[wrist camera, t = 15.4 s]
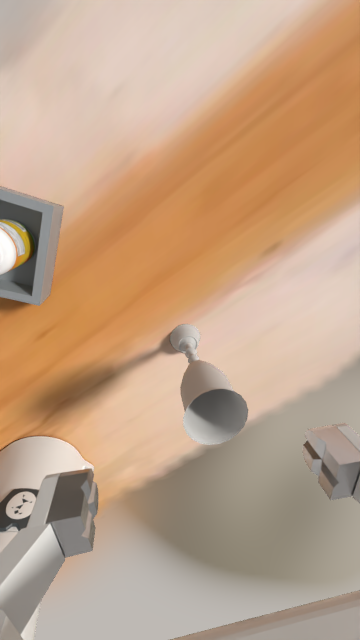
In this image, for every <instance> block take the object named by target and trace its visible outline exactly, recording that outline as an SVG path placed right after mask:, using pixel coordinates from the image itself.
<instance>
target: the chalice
mask: <svg viewBox="0 0 360 640" xmlns="http://www.w3.org/2000/svg"><path fill="white" fill-rule="evenodd" d="M199 341H200V332H199V330H198V329H197V328H196V327H195V326H193V325H190V324H182V325H180V326H178V327H176V328H175V329H174V330H173V331H172V333H171V336H170V342H171V345H172V346H173V348H174V349H176V350H178V351H180V352H181V353H185V355H186V357H187V358H189V359H188V362H189V363H190V364H189V366H188V368H187V369H186V371H185V373H184V376H183V379H182V384H181V397H182V401H183V406H184V410H185V414H184V417H183V425H184V429H185V431H186V433H187V435H188V436H189V437H190V438H191V439H192V440H194V441H196V442H198V443H201V444H208V445H212V444H220V443H222V442H225V441H228V440H230V439H231V438H233V437H234V436H235V435H237V434H238V433H239V432H240V430H241V429H242V428H243V427H244V425H245V422H246V420H247V416H248V408H247V404H246V402H245V400H244V399H243V398H242V396H241V395H239V394H237V393H236V392H234V390H233V388H232V386H231V384H230V382H229V380H228V379H227V377H226V375H225V374H224V373H223V371H221V370H220V369H218V368H217V367H215V366H214V365H212V364H210V363H207V362H204V361H201V360H199V357H198V356H197V355H196V354H197V351H196V348H197V347H198V344H199Z"/></svg>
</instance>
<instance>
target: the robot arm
mask: <svg viewBox="0 0 360 640" xmlns="http://www.w3.org/2000/svg"><path fill="white" fill-rule="evenodd" d="M305 437H306V439H307V441H306V443H305V444H304V445H303V456H304V460H305V462H306V464H307V466H308V467H309V469H310V470H311V471H312V472H313V473H315V474H316V475H318V482H319V484H320V486H321V487H322V488H323V490H324V491H325V493H326V494H327V496H328V497H329V499H330V500H334V499H339V498H345V497H351V496H353V498H354V499H355V500H357V501H358V502H359V503H360V436H359V435H358V434H357V433H356V432H355V431H354V430H353V429H352V428H351V427H350V426H349V425H348V424H346V423H340V424H335V425H327V426H322V427H317V428H312V429H308V430H307V431H306V433H305ZM93 472H94V466H93V465H92V464H90V463H89V462H87V461H85V460H84V459H83V458H82V457H81V455H80V454H79V452H78V451H77V450H76V449H75V448H74V447H73V446H72V445H70V444H69V443H67V442H65V441H63V440H60V439H57V438H53V437H45V436H34V437H27V438H23V439H20V440H17V441H15V442H13V443H11V444H10V445H8V446H7V447H6V448H5V449H3V450H2V451H0V640H34V636H35V630H36V624H37V619H38V614H39V610H40V605H41V601H42V598H43V596H44V595H45V593H46V591H47V590H48V588H49V586H50V584H51V583H52V581H53V579H54V578H55V576H56V574H57V572H58V571H59V569H60V567H61V566H62V564H63V562H64V561H65V558H66V557H70V556H73V555H77V554H82V553H86V552H90V551H92V550H93V542H94V535H95V525H94V521H93V519H94V517H95V516H96V514H97V510H98V488H97V484H96V483H95V482H93V477H94V474H93ZM170 640H360V590H359V591H354V592H351V593H347V594H343V595H339V596H335V597H332V598H328V599H324V600H320V601H316V602H312V603H309V604H305V605H301V606H297V607H293V608H289V609H285V610H282V611H278V612H274V613H270V614H266V615H262V616H259V617H255V618H251V619H247V620H243V621H239V622H235V623H232V624H228V625H224V626H220V627H216V628H212V629H209V630H205V631H201V632H197V633H193V634H189V635H186V636H182V637H178V638H174V639H170Z"/></svg>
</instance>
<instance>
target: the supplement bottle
mask: <svg viewBox="0 0 360 640" xmlns="http://www.w3.org/2000/svg"><path fill="white" fill-rule="evenodd" d="M35 249H36V244H35V239H34V237H33V235H32V233H31V232H30V231H29V229H28V228H27V227H25V226H24V225H23V224H21V223H19V222H17V221H14V220H9V219H3V220H0V275H1V274H4V273H6V272H8V271H10V270H12V269H14V268H16V267H18V266H20V265H22V264H24V263H26V262H27V261H29V260H30V259H31V258H32V257H33V255H34V253H35Z"/></svg>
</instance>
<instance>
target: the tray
mask: <svg viewBox="0 0 360 640" xmlns="http://www.w3.org/2000/svg"><path fill="white" fill-rule="evenodd" d="M63 208H64V206H61V205H58V204H55V203H52V202H48V201H45V200H42V199H39V198H36V197H33V196H30V195H27V194H23V193H20V192H17V191H14V190H11V189H8V188H5V187H1V186H0V220H3V219H9V220H14V221H17V222H19V223H21V224H23V225H24V226H25V227H27V228H28V229H29V231H30V232H31V233H32V235H33V237H34V239H35V244H36V249H35V253H34V255H33V257H32V258H31V259H30V260H29V261H27V262H26V263H24V264H22V265H20V266H18V267H16V268H14V269H12V270H10V271H8V272H6V273H4V274H1V275H0V297H3V298H8V299H12V300H17V301H21V302H26V303H30V304H34V305H39V306H40V305H41V304H42V303H43V302H44V301H45V300H46V298H47V297H48V296H49V295H50V292H51V286H52V279H53V273H54V266H55V260H56V253H57V247H58V240H59V234H60V227H61V221H62V214H63Z"/></svg>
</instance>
